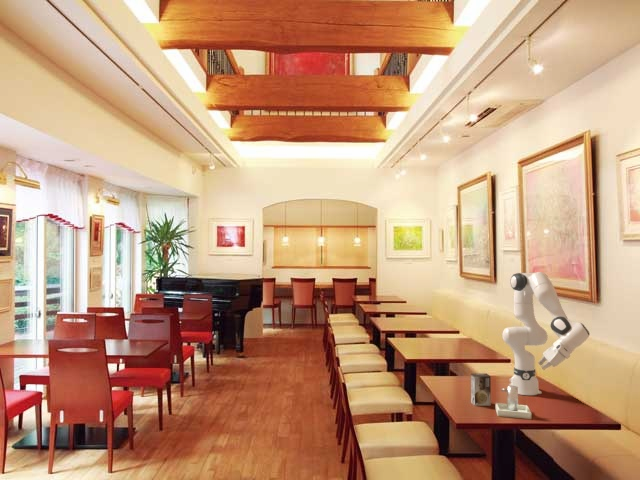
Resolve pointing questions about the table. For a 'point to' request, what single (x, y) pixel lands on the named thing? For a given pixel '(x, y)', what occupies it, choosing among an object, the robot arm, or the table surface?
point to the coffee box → (480, 389)
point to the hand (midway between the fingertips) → (540, 366)
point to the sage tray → (521, 413)
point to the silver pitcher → (512, 398)
